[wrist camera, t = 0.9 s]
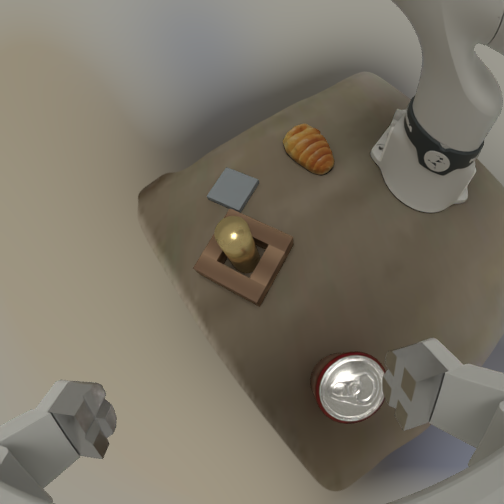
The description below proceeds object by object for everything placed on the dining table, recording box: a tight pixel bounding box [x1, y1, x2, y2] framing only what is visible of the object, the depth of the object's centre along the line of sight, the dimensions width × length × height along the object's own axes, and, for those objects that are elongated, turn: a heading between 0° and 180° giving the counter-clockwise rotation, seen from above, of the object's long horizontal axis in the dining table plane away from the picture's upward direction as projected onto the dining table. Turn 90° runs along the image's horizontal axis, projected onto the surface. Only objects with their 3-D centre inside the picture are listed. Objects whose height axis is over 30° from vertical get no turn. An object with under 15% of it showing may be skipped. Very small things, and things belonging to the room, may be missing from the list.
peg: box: [214, 216, 260, 273], centre depth 39 cm, size 4×4×10 cm
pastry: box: [283, 124, 334, 175], centre depth 46 cm, size 9×7×4 cm
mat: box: [207, 167, 259, 213], centre depth 47 cm, size 6×6×1 cm
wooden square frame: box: [193, 209, 293, 307], centre depth 42 cm, size 10×10×3 cm
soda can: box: [310, 352, 386, 424], centre depth 30 cm, size 7×7×12 cm
